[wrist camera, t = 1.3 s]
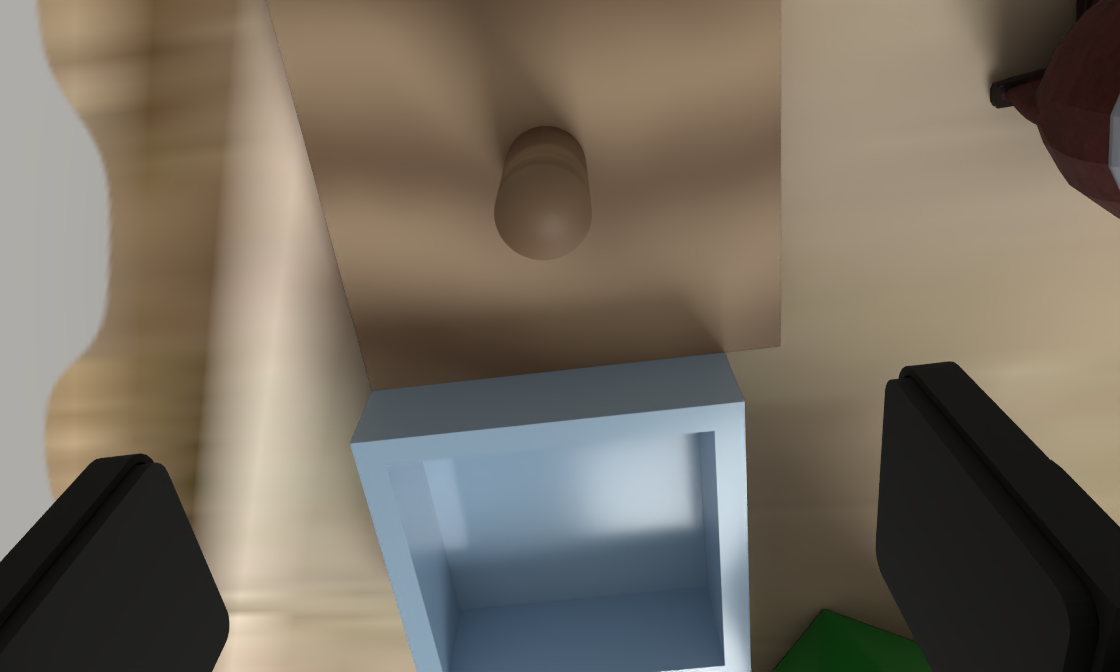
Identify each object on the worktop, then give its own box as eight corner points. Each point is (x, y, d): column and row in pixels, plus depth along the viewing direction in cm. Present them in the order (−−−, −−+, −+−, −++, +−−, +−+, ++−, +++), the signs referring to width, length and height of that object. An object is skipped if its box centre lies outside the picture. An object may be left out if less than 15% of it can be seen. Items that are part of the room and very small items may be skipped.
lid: (262, -60, 23) (172, -61, 18) (771, -133, 22) (838, -158, 17) (377, 377, 30) (337, 472, 24) (773, 333, 29) (822, 422, 24)
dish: (380, 370, 30) (349, 443, 26) (716, 332, 30) (744, 401, 25) (444, 614, 36) (428, 709, 32) (727, 588, 35) (751, 681, 31)
